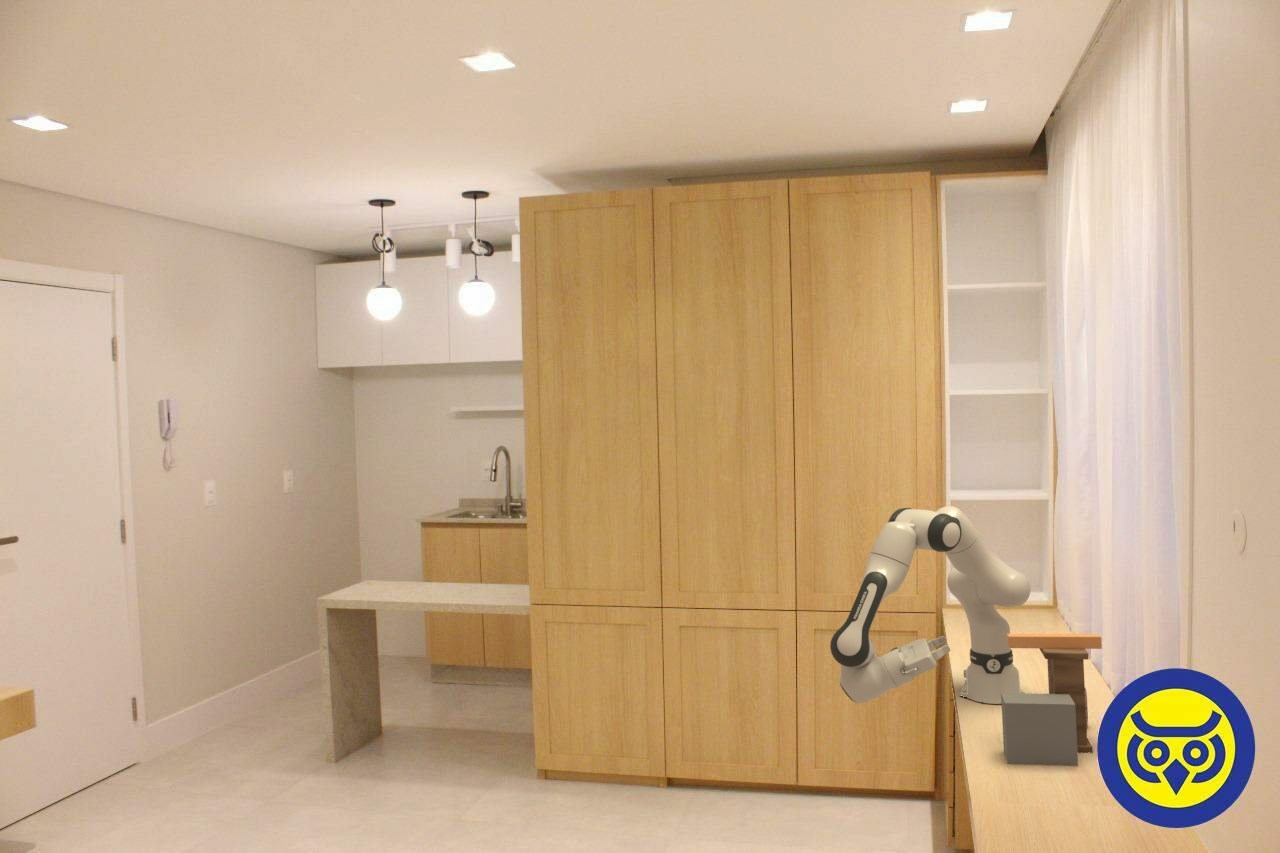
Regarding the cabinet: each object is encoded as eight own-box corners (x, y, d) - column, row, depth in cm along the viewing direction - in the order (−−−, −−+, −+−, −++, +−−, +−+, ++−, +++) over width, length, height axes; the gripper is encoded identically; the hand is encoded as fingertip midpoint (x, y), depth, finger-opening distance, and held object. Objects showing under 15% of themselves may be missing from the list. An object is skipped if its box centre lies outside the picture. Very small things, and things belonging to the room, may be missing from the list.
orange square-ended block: (1007, 645, 252) (1007, 633, 252) (1099, 645, 247) (1098, 634, 247) (1009, 648, 249) (1008, 636, 249) (1101, 648, 244) (1101, 637, 244)
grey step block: (1003, 751, 246) (1001, 693, 245) (1071, 753, 242) (1069, 694, 241) (1007, 763, 238) (1004, 703, 237) (1078, 766, 234) (1075, 704, 234)
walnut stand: (1042, 734, 256) (1037, 640, 255) (1083, 735, 253) (1078, 641, 252) (1049, 751, 244) (1045, 653, 243) (1092, 752, 241) (1088, 653, 241)
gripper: (895, 665, 247) (945, 641, 244) (891, 647, 267) (937, 624, 264) (908, 688, 246) (957, 663, 244) (903, 667, 266) (949, 644, 264)
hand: (947, 643), depth 254 cm, fingers open, 8 cm apart
